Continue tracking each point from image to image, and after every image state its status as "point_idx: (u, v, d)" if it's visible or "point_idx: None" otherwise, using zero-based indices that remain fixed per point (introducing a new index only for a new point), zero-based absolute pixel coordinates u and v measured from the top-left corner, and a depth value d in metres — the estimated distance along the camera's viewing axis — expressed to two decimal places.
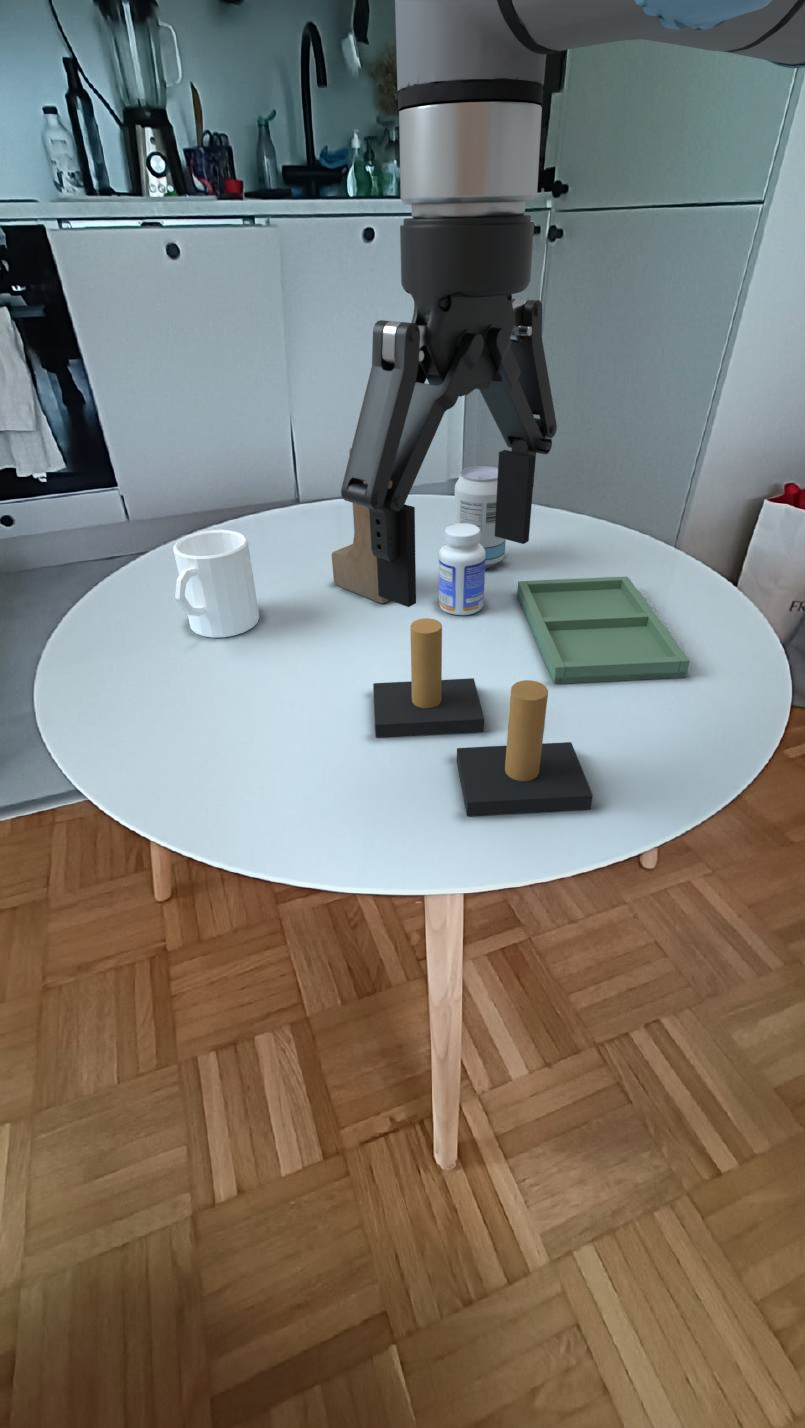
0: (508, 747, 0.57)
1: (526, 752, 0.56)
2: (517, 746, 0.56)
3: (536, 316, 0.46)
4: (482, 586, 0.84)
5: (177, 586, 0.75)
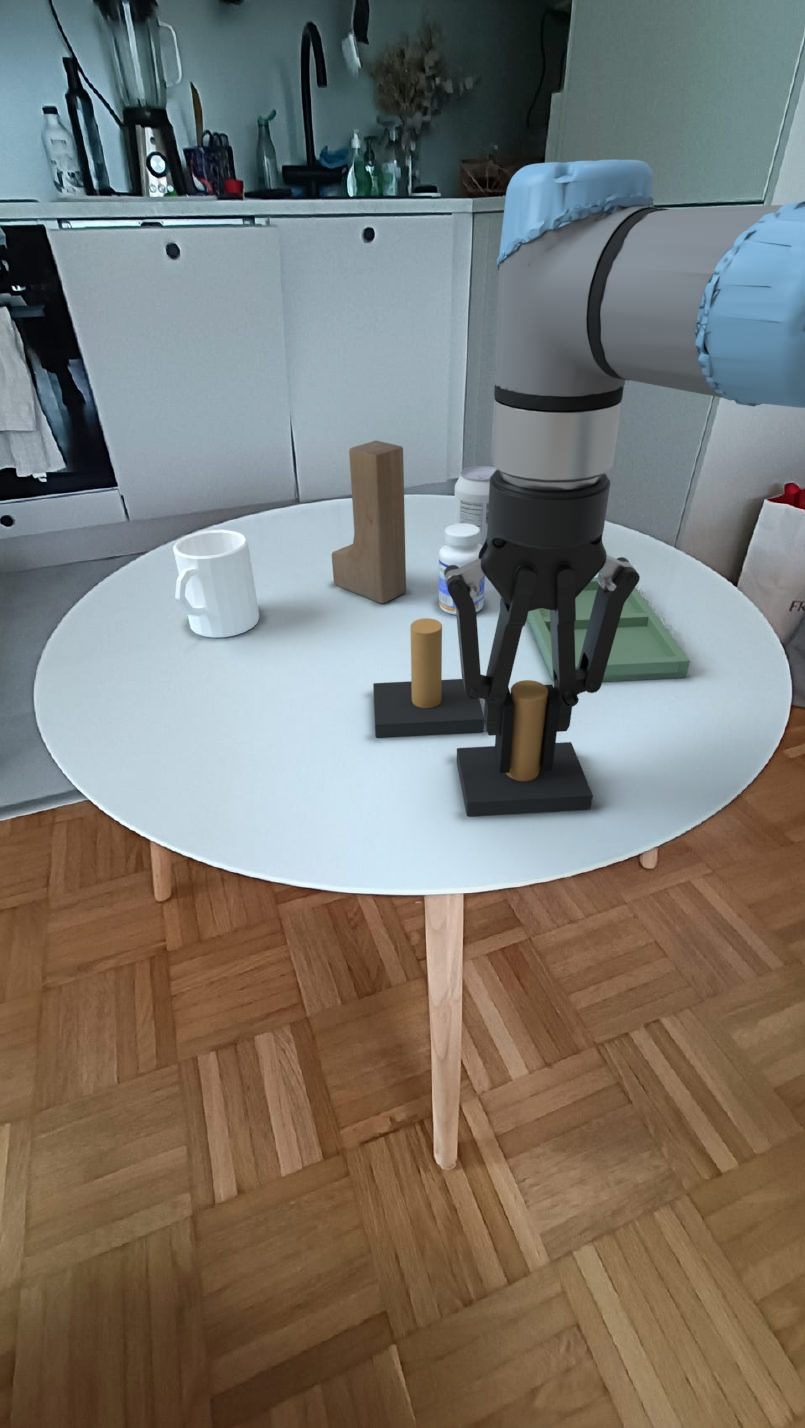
0: None
1: (526, 752, 0.56)
2: (517, 746, 0.56)
3: (627, 582, 0.48)
4: (482, 586, 0.84)
5: (177, 586, 0.75)
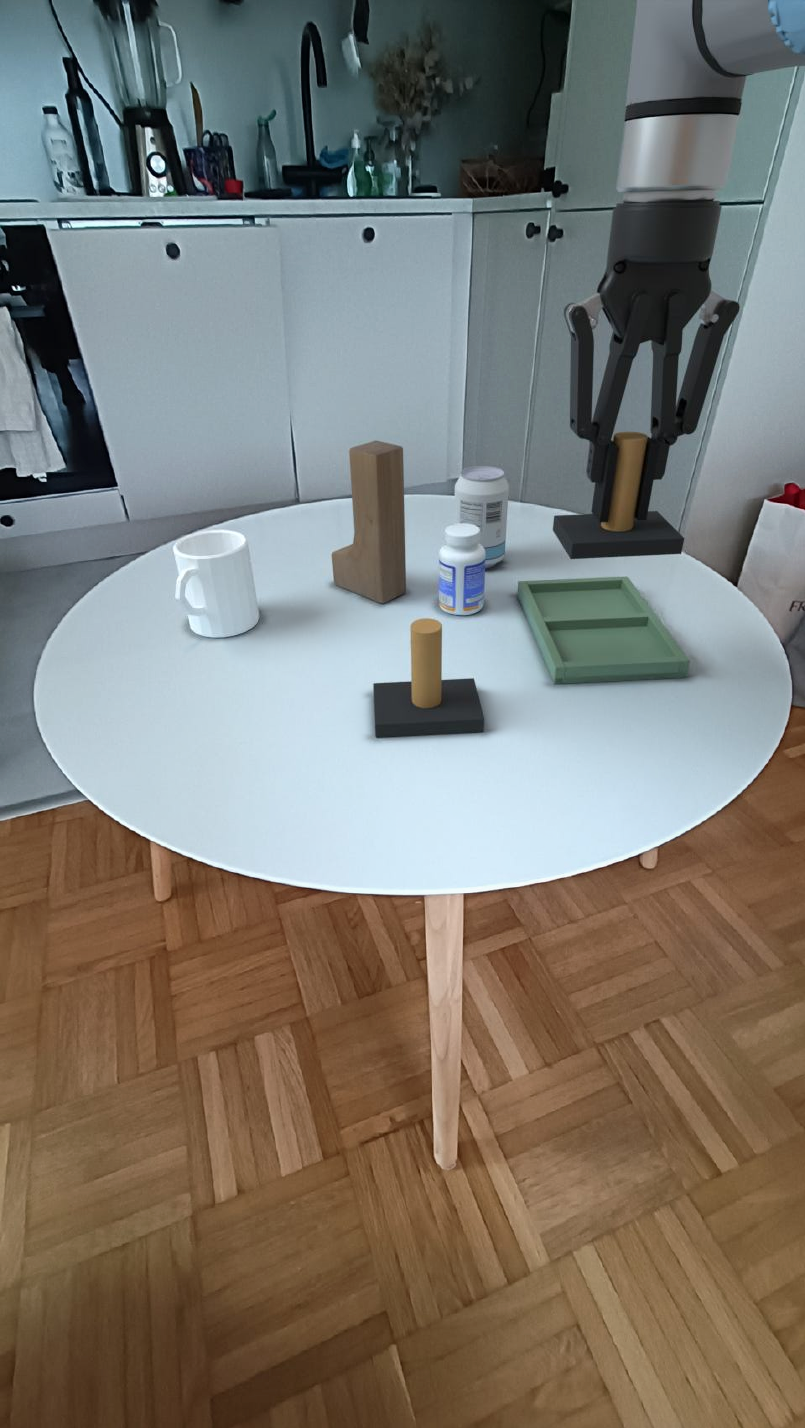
0: None
1: (625, 499, 0.63)
2: (617, 493, 0.63)
3: (728, 313, 0.55)
4: (482, 586, 0.84)
5: (177, 586, 0.75)
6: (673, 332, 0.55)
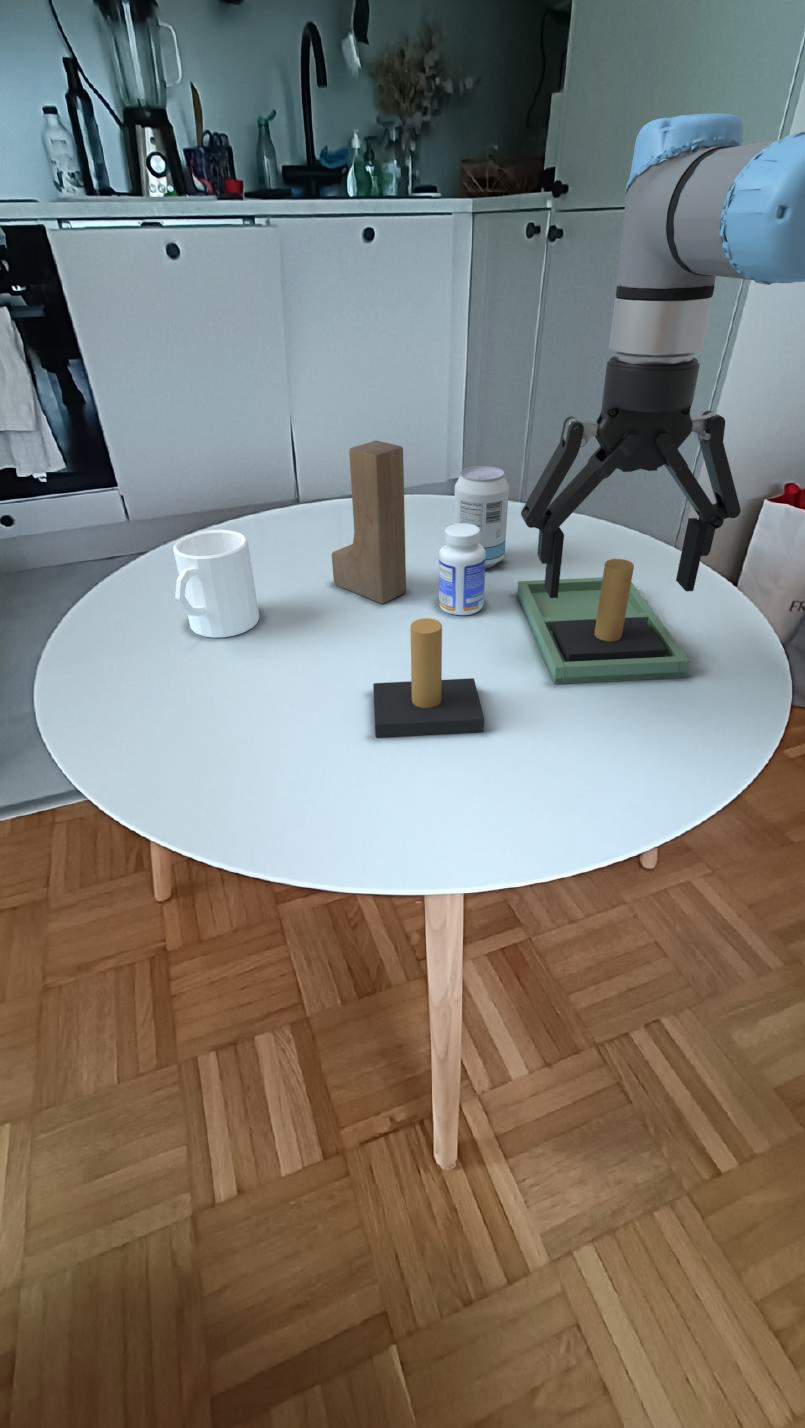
0: (599, 613, 0.74)
1: (615, 615, 0.73)
2: (608, 611, 0.73)
3: (716, 427, 0.63)
4: (482, 586, 0.84)
5: (177, 586, 0.75)
6: (673, 458, 0.63)
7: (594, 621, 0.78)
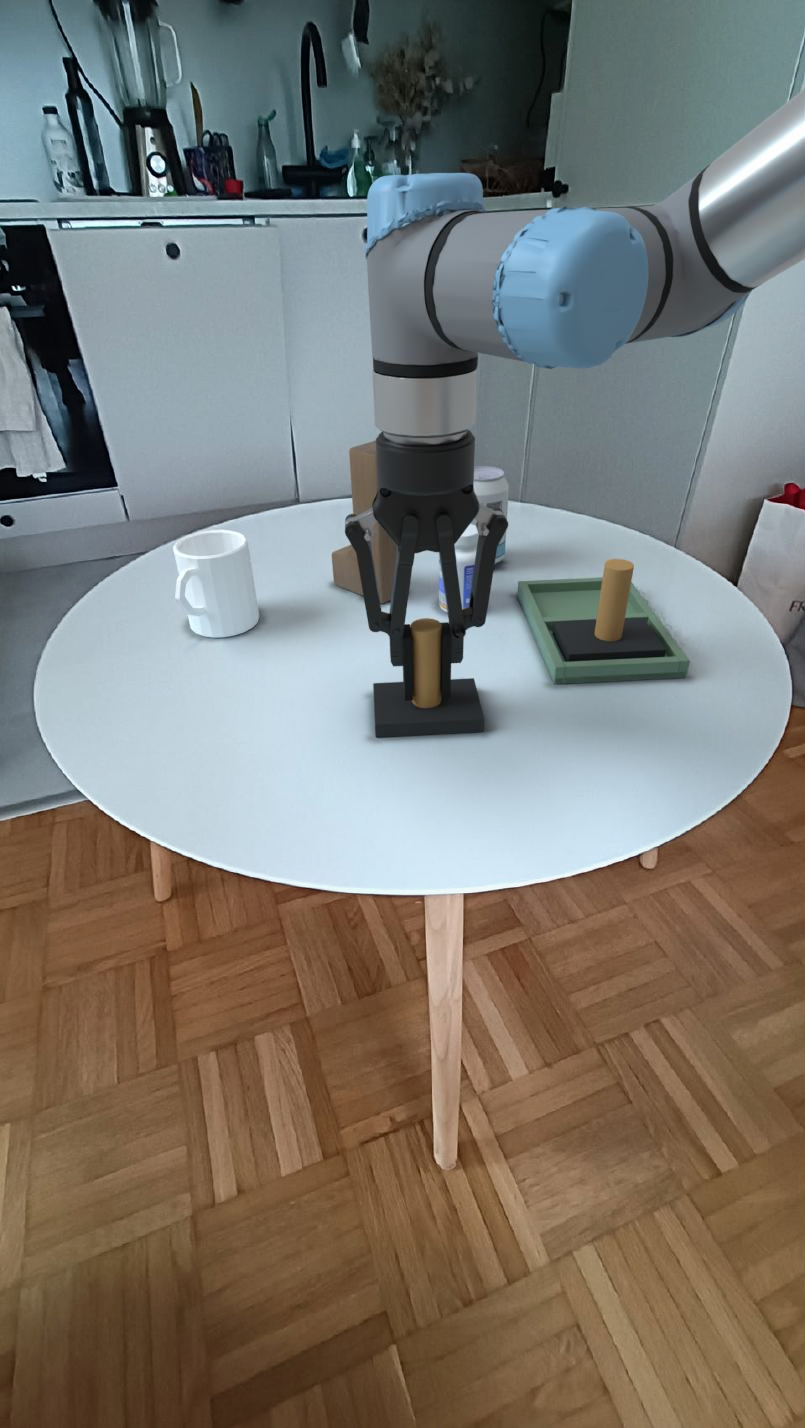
0: (599, 613, 0.74)
1: (615, 615, 0.73)
2: (608, 611, 0.73)
3: (497, 528, 0.57)
4: None
5: (177, 586, 0.75)
6: (445, 546, 0.57)
7: (594, 621, 0.78)
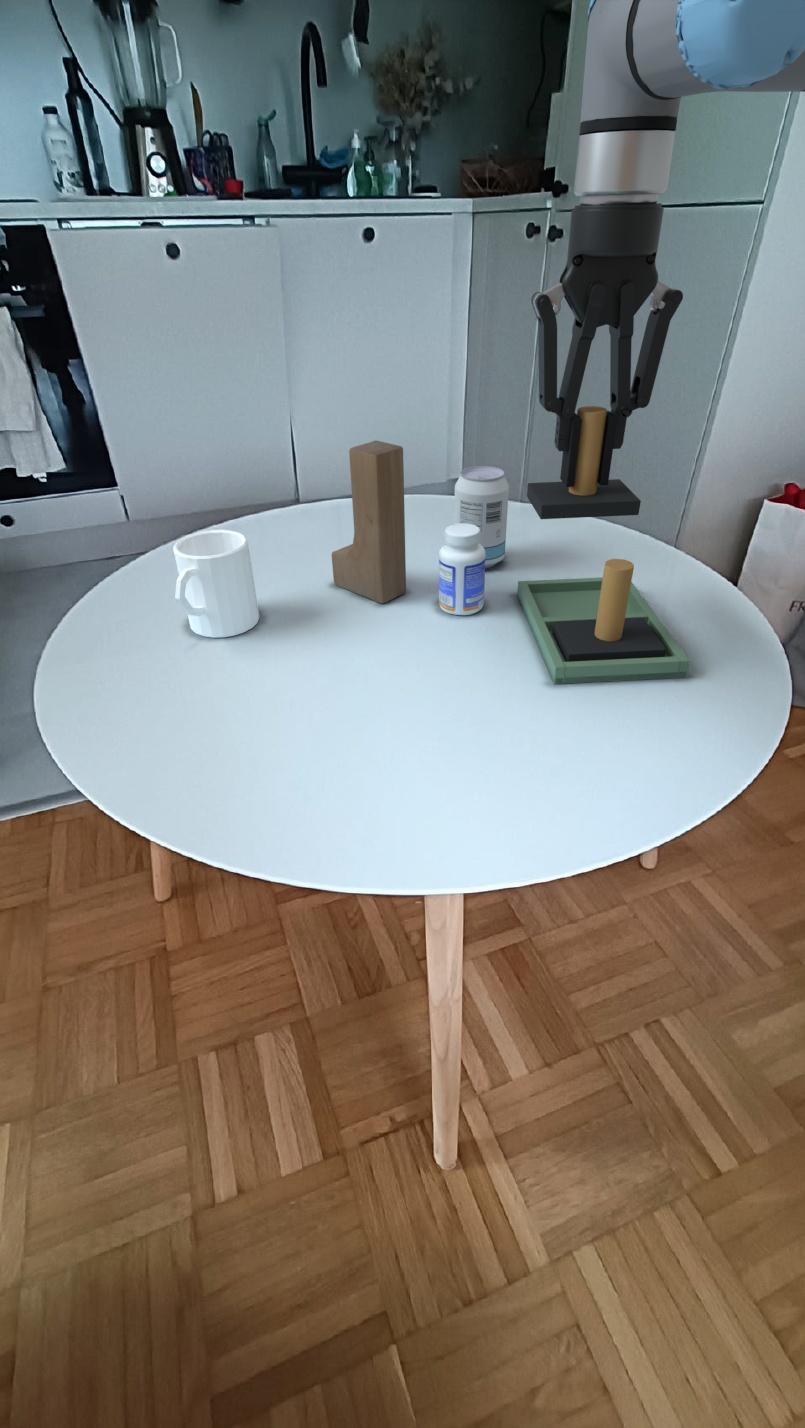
0: (599, 613, 0.74)
1: (615, 615, 0.73)
2: (608, 611, 0.73)
3: (673, 300, 0.63)
4: (482, 586, 0.84)
5: (177, 586, 0.75)
6: (625, 317, 0.63)
7: (594, 621, 0.78)
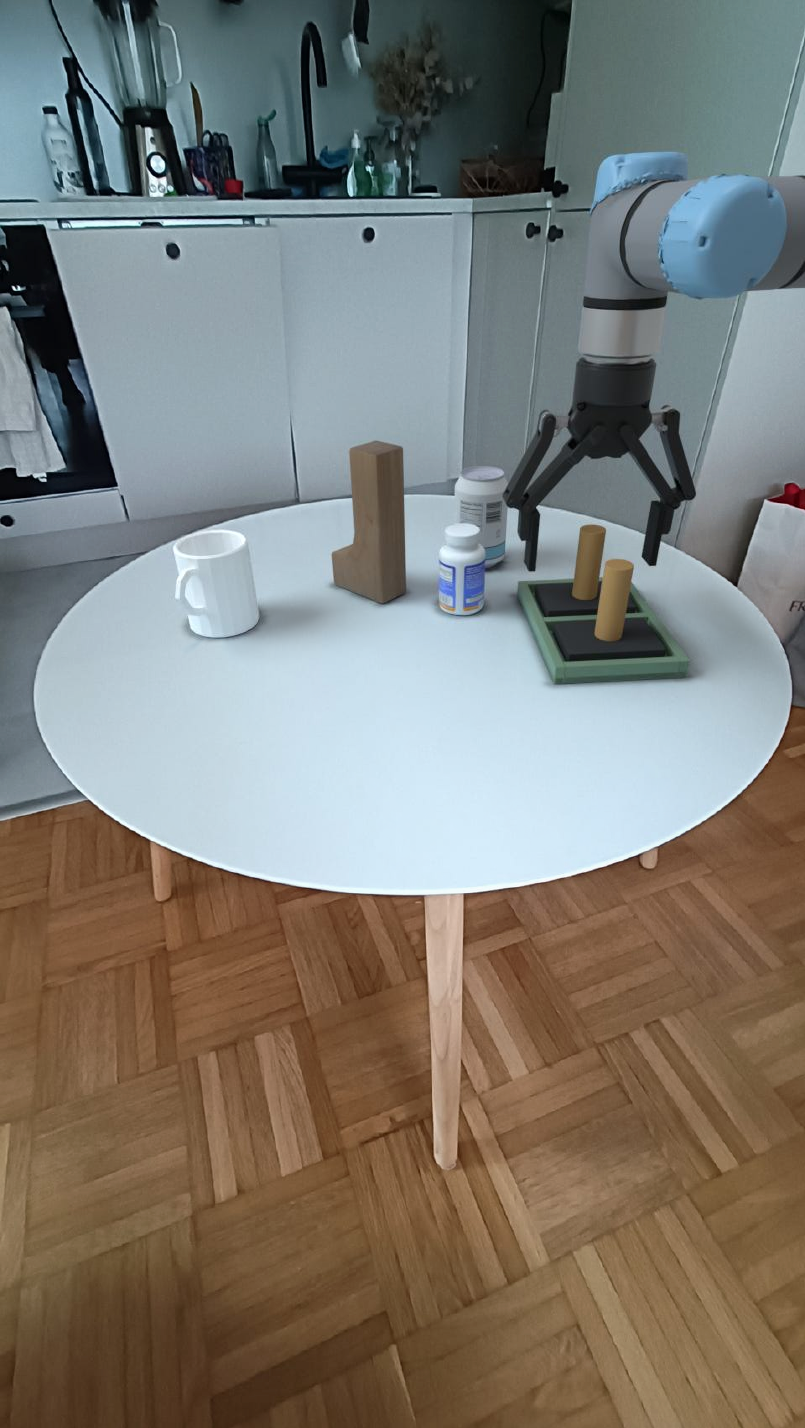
0: (599, 613, 0.74)
1: (615, 615, 0.73)
2: (608, 611, 0.73)
3: (672, 419, 0.71)
4: (482, 586, 0.84)
5: (177, 586, 0.75)
6: (634, 447, 0.72)
7: (594, 621, 0.78)
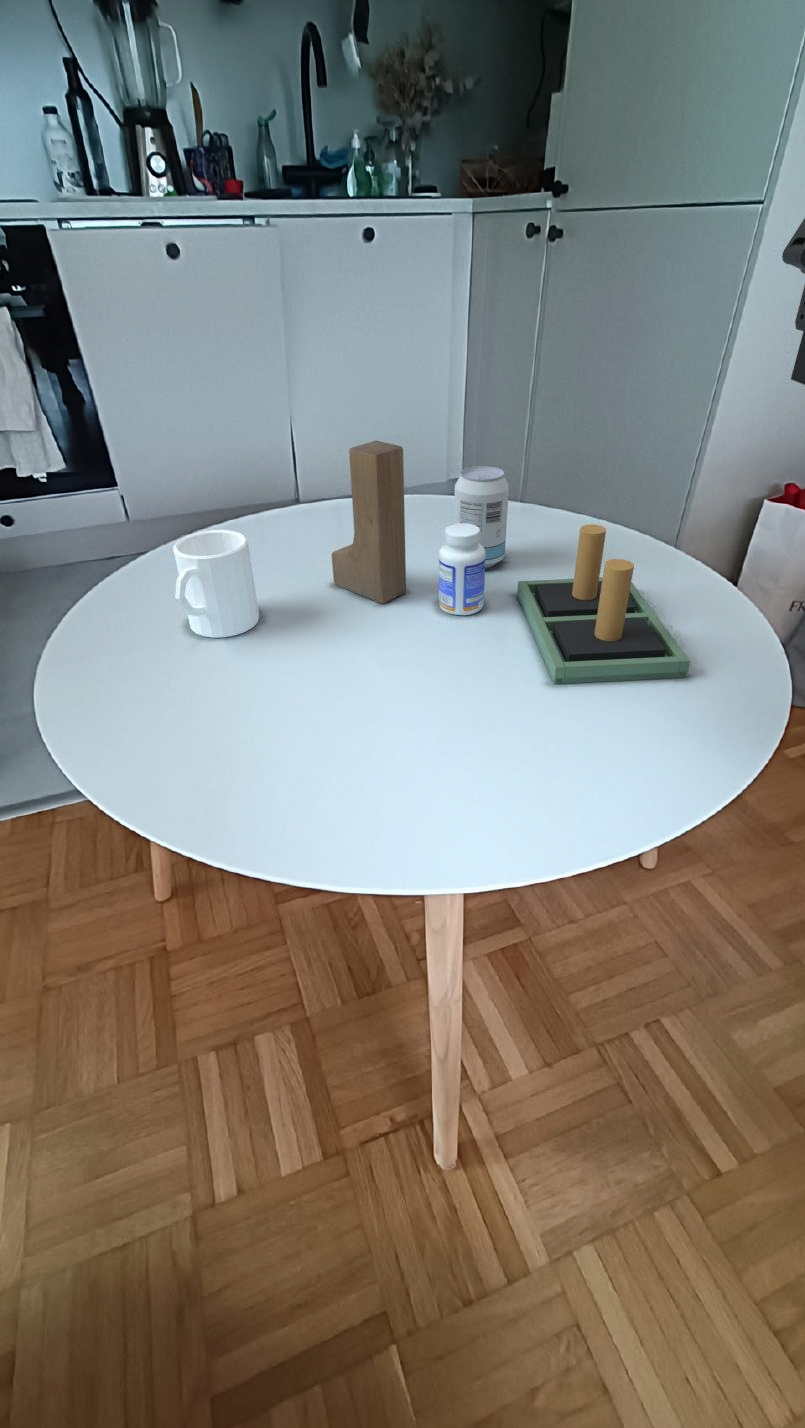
0: (599, 613, 0.74)
1: (615, 615, 0.73)
2: (608, 611, 0.73)
3: None
4: (482, 586, 0.84)
5: (177, 586, 0.75)
6: None
7: (594, 621, 0.78)
